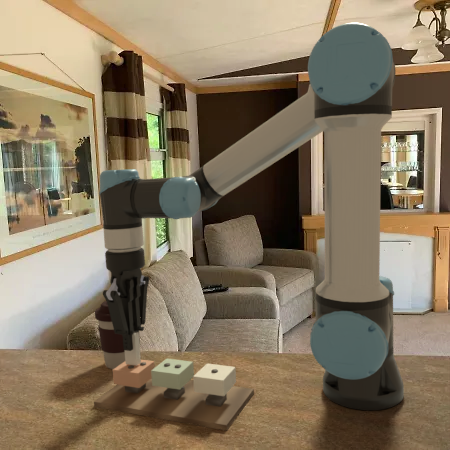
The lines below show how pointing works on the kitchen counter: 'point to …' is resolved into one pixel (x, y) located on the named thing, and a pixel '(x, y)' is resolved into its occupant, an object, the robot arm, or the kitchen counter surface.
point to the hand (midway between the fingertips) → (133, 363)
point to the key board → (178, 403)
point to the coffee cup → (109, 338)
